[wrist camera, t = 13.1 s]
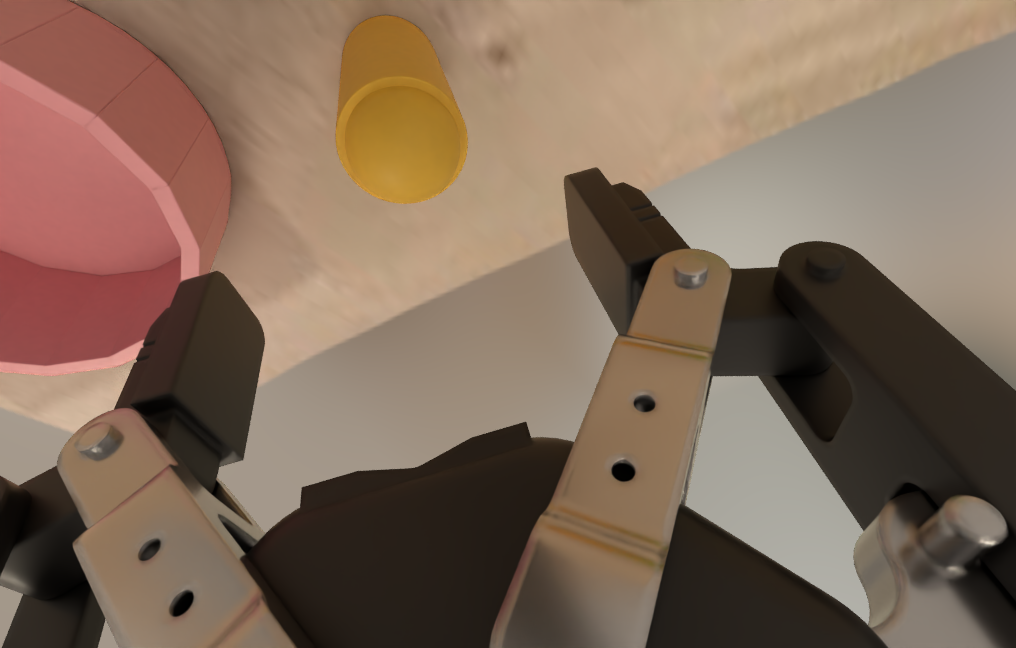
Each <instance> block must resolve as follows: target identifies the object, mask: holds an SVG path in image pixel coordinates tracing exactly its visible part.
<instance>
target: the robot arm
mask: <svg viewBox="0 0 1016 648" xmlns="http://www.w3.org/2000/svg"><path fill="white" fill-rule="evenodd" d="M564 189H565V199H566V209H567V218H568V228H569V235H570V240H571V244H572V248H573V251H574V253H575V256H576V258H577V260H578V262H579V263H580V265H581V267H582V269H583V271H584V272H585V274H586V276H587V278H588V280H589V281H590V283H591V285H592V287H593V289H594V290H595V292H596V294H597V296H598V298H599V300H600V301H601V303H602V305H603V307H604V309H605V310H606V312H607V314H608V316H609V317H610V320H611V321H612V323H613V325H614V327H615V329H616V330H617V332H618V334H619V335H618V336H617V337H616V339H615V341H614V343H613V346H612V348H611V351H610V353H609V356H608V358H607V361H606V363H605V366H604V369H603V371H602V374H601V376H600V379H599V382H598V384H597V386H596V389H595V392H594V394H593V396H592V399H591V401H590V404H589V406H588V409H587V411H586V414H585V417H584V419H583V422H582V424H581V427H580V429H579V432H578V435H577V437H576V439H575V442H572V441H568V440H563V439H557V438H544V437H536V438H531V436H530V433H529V430H528V427H527V423H526V422H523V423H520V424H517V425H513V426H510V427H506V428H503V429H499V430H496V431H493V432H489V433H486V434H482V435H479V436H476V437H472V438H470V439H468V440H466V441H465V442H463V443H461V444H459V445H457V446H456V447H454V448H452V449H450V450H449V451H446V452H445V453H443V454H441V455H439V456H437V457H436V458H434V459H432V460H430V461H428V462H426V463H425V464H423V465H421V466H419V467H415V468H408V469H389V470H371V471H356V472H353V473H350V474H346V475H343V476H339V477H336V478H333V479H330V480H326V481H322V482H319V483H316V484H312V485H309V486H305V487H302V492H301V504H300V508H298V509H297V510H295V511H293V512H292V513H291V514H289V515H288V516H286V517H285V518H283V519H282V520H281V521H280V522H278V523H277V524H276V525H275V526H273V527H272V528H271V529H270V530H269V531H268V532H267V533H266V534H265V533H264V531H263V530H262V529H261V528H260V527H259V525H258V524H257V523H256V522H255V521H254V519H253V518H252V517H251V516H250V515H249V513H248V512H247V511H246V510H245V509H244V507H243V506H242V505H241V504H240V502H239V501H238V500H237V499H236V498H235V496H234V495H233V494H232V493H231V492H230V490H229V489H228V488H227V487H226V485H225V484H223V483H222V482H221V481H220V480H219V479H218V478H217V474H218V470H219V467H221V466H224V465H227V464H231V463H234V462H238V461H241V460H243V458H244V453H245V448H246V442H247V436H248V431H249V426H250V420H251V415H252V410H253V405H254V399H255V394H256V388H257V383H258V378H259V372H260V367H261V361H262V356H263V351H264V345H265V338H264V332H263V329H262V326H261V324H260V322H259V320H258V319H257V317H256V316H255V315H254V313H253V312H252V311H251V309H250V308H249V307H248V305H247V304H246V303H245V301H244V300H243V299H242V297H241V296H240V295H239V293H238V292H237V290H236V289H235V288H234V286H233V285H232V284H231V282H230V281H229V280H228V279H227V277H226V276H225V275H224V274H222V273H221V272H218V271H215V272H211V273H207V274H204V275H200V276H197V277H193V278H189V279H186V280H183V281H181V282H180V284H179V285H178V288H177V290H176V293H175V295H174V298H173V300H172V302H171V305H170V307H169V308H166V309H165V310H164V311H163V312H162V314H161V315H160V316H159V317H158V318H157V319H156V320H155V322H154V323H153V324H152V325H151V326H150V328H149V330H148V333H147V335H146V337H145V340H144V342H143V344H142V345H143V347H142V348H141V349H140V351H139V353H138V356H137V358H136V360H137V362H136V363H134V365H133V367H132V369H131V372H130V374H129V376H128V379H127V381H126V383H125V385H124V388H123V390H122V392H121V395H120V397H119V399H118V401H117V404H116V406H115V408H114V410H112V411H108V412H106V413H104V414H101V415H100V416H98V417H96V418H94V419H93V420H91V421H89V422H88V423H87V424H85V425H84V426H83V427H81V428H80V429H79V430H78V431H77V432H76V433H75V434H74V435H73V436H72V437H71V438H70V439H69V440H68V442H67V443H66V444H65V445H64V447H63V449H62V451H61V452H60V454H59V457H58V461H57V466H55V467H53V468H52V469H50V470H48V471H46V472H44V473H42V474H40V475H38V476H36V477H35V478H32V479H31V480H29V481H27V482H25V483H23V484H21V485H19V486H18V485H16V484H14V483H12V482H11V481H9V480H7V479H5V478H3V477H1V476H0V586H3V587H6V588H8V589H11V590H14V591H17V592H19V593H22V594H23V596H22V598H21V601H20V603H19V606H18V609H17V611H16V614H15V616H14V618H13V621H12V624H11V626H10V629H9V631H8V634H7V636H6V639H5V641H4V644H3V646H2V648H98V644H99V641H100V637H101V633H102V630H103V626H104V623H105V619H106V621H107V623H108V625H109V627H110V630H111V632H112V634H113V636H114V638H115V640H116V643H117V645H118V647H119V648H1016V391H1015V390H1014V389H1013V388H1012V387H1011V386H1010V385H1008V384H1007V383H1006V382H1005V381H1004V380H1003V379H1002V378H1001V377H999V376H998V375H997V374H996V373H995V372H994V371H993V370H991V369H990V368H989V367H988V366H987V365H986V364H985V363H984V362H982V361H981V360H980V359H979V358H978V357H977V356H976V355H974V354H973V353H972V352H971V351H970V350H969V349H968V348H966V347H965V346H964V345H963V344H962V343H961V342H960V341H958V340H957V339H956V338H955V337H954V336H953V335H952V334H950V333H949V332H948V331H947V330H946V329H945V328H944V327H943V326H941V325H940V324H939V323H938V322H937V321H936V320H935V319H934V318H932V317H931V316H930V315H929V314H928V313H927V312H926V311H924V310H923V309H922V308H921V307H920V306H919V305H918V304H916V303H915V302H914V301H913V300H912V299H911V298H910V297H908V296H907V295H906V294H905V293H904V292H903V291H902V290H901V289H899V288H898V287H897V286H896V285H895V284H894V283H892V282H891V281H890V280H889V279H888V278H887V277H886V276H884V274H882V273H881V272H880V271H879V270H878V269H877V268H876V267H874V266H873V265H872V264H871V263H870V262H869V261H868V260H866V259H865V258H864V257H863V256H862V255H860V254H859V253H858V252H856V251H854V250H853V249H850V248H848V247H846V246H843V245H840V244H836V243H831V242H822V241H812V242H804V243H799V244H796V245H794V246H792V247H789V248H788V249H787V250H785V251H784V253H782V255H781V257H780V260H779V264H778V267H770V268H751V269H733V268H730V267H729V265H728V264H727V262H726V261H725V260H724V259H722V258H721V257H719V256H718V255H716V254H714V253H711V252H708V251H705V250H699V249H691V248H690V247H689V246H688V245H687V244H686V242H684V240H683V239H682V238H681V237H680V236H679V234H678V233H677V232H676V231H675V230H674V228H673V227H672V226H671V225H670V224H669V223H668V222H667V220H666V219H665V218H664V217H663V216H661V215H660V212H659V211H658V210H657V209H656V207H655V206H652V203H651V202H650V200H649V199H648V198H647V197H646V196H645V195H644V193H643V192H642V191H641V190H639V189H637V188H634V187H632V186H630V185H628V184H626V183H624V182H623V183H619V184H615V185H611V184H610V183H609V182H608V180H607V179H606V178H605V176H604V175H603V174H602V173H601V171H600V170H599V169H598V168H597V167H595V168H591V169H588V170H584V171H581V172H577V173H573V174H570V175H566V176H565V178H564ZM713 376H759V378H760V379H761V381H762V382H763V384H764V385H765V387H766V388H767V390H768V391H769V393H770V394H771V396H772V397H773V399H774V400H775V402H776V403H777V404H778V406H779V407H780V409H781V410H782V412H783V413H784V415H785V416H786V418H787V419H788V421H789V422H790V423H791V425H792V426H793V428H794V429H795V431H796V432H797V434H798V435H799V437H800V438H801V440H802V441H803V443H804V444H805V445H806V447H807V448H808V450H809V451H810V453H811V454H812V456H813V457H814V459H815V460H816V462H817V463H818V465H819V466H820V468H821V469H822V470H823V472H824V473H825V475H826V476H827V477H828V479H829V481H830V482H831V484H832V485H833V487H834V488H835V490H836V491H837V492H838V494H839V495H840V497H841V498H842V500H843V501H844V503H845V504H846V506H847V507H848V509H849V510H850V512H851V513H852V514H853V516H854V517H855V519H856V520H857V522H858V523H859V525H860V526H861V528H862V529H863V531H864V532H863V533H862V535H861V536H860V537H859V539H858V540H857V542H856V544H855V548H854V556H853V558H854V565H855V568H856V572H857V574H858V577H859V579H860V581H861V583H862V585H863V587H864V589H865V592H866V595H867V598H868V601H869V609H870V616H869V623H868V625H867V624H866V623H865V622H864V621H863V620H862V619H861V618H860V617H859V616H857V615H856V614H855V613H854V612H853V611H851V610H850V609H849V608H848V607H846V606H845V605H844V604H842V603H841V602H839V601H838V600H836V599H835V598H833V597H832V596H830V595H829V594H827V593H825V592H824V591H822V590H821V589H819V588H817V587H816V586H814V585H812V584H811V583H809V582H808V581H806V580H804V579H803V578H801V577H800V576H798V575H796V574H795V573H793V572H792V571H790V570H788V569H787V568H785V567H783V566H782V565H780V564H779V563H777V562H775V561H774V560H772V559H770V558H769V557H767V556H766V555H764V554H762V553H761V552H759V551H758V550H756V549H754V548H753V547H751V546H750V545H748V544H746V543H745V542H743V541H742V540H740V539H738V538H737V537H735V536H733V535H732V534H730V533H729V532H727V531H725V530H724V529H722V528H721V527H719V526H717V525H716V524H714V523H713V522H711V521H709V520H708V519H706V518H704V517H703V516H701V515H699V514H698V513H696V512H695V511H693V510H691V509H690V508H688V507H687V506H685V504H686V499H687V494H688V490H689V485H690V480H691V475H692V471H693V466H694V461H695V456H696V451H697V446H698V442H699V437H700V432H701V428H702V423H703V419H704V414H705V410H706V405H707V401H708V396H709V392H710V387H711V382H712V378H713Z"/></svg>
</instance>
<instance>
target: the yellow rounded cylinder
mask: <svg viewBox="0 0 1016 648" xmlns="http://www.w3.org/2000/svg"><path fill="white" fill-rule="evenodd" d="M336 146H337V152H338V155H339V158H340V160H341V163H342V165H343V167H344V169H345V170H346V172H347V173H348V175H349V176H350V177H351V178H352V180H353V181H354V182H355V183H356V184H357V185H358V186H359V187H361V188H362V189H363V190H365V191H366V192H368V193H369V194H371V195H373V196H375V197H377V198H379V199H382V200H385V201H388V202H393V203H403V204H407V203H417V202H421V201H425V200H428V199H430V198H433V197H435V196H437V195H438V194H440V193H441V192H443V191H444V190H445V189H447V188H448V187H449V186H450V185H451V184H452V183H453V182H454V180H455V179H456V178H457V176H458V175H459V173H460V171H461V169H462V167H463V165H464V162H465V159H466V155H467V148H468V138H467V130H466V126H465V123H464V120H463V118H462V115H461V113H460V110H459V108H458V106H457V103H456V101H455V99H454V96H453V94H452V91H451V89H450V87H449V84H448V82H447V80H446V77H445V75H444V72H443V70H442V68H441V65H440V63H439V61H438V58H437V56H436V53H435V51H434V49H433V46H432V45H431V43H430V41H429V40H428V38H427V37H426V35H425V34H424V33H423V32H422V31H421V30H420V29H419V28H418V27H416V26H415V25H414V24H412V23H411V22H409V21H407V20H405V19H402V18H399V17H395V16H386V15H383V16H376V17H372V18H370V19H367V20H365V21H363V22H362V23H360V24H359V25H358V26H357V27H356V28H355V29H354V30H353V31H352V32H351V34H350V35H349V37H348V39H347V41H346V43H345V46H344V49H343V55H342V65H341V76H340V88H339V100H338V111H337V123H336Z"/></svg>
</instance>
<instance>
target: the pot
mask: <svg viewBox="0 0 1016 648" xmlns="http://www.w3.org/2000/svg"><path fill="white" fill-rule="evenodd" d="M230 199H231V174H230V171H229V165H228V160H227V157H226V154H225V151H224V148H223V145H222V142H221V140H220V138H219V136H218V134H217V131H216V129H215V127H214V125H213V123H212V122H211V120H210V119H209V117H208V115H207V114H206V112H205V110H204V109H203V107H202V106H201V104H200V103H199V102H198V100H197V99H196V98H195V96H194V95H193V94H192V93H191V91H190V90H189V89H188V87H187V86H186V85H185V84H184V83H183V82H182V81H181V80H180V79H179V78H178V77H177V75H176V74H175V73H174V72H173V71H172V70H171V69H170V68H169V67H168V66H167V65H166V64H165V63H163V62H162V61H161V60H160V59H159V58H158V57H157V56H155V55H154V54H153V53H152V52H151V51H150V50H149V49H148V48H146V47H145V46H143V45H142V44H141V43H139V42H138V41H137V40H135V39H134V38H133V37H131V36H130V35H128V34H127V33H126V32H124V31H123V30H121V29H120V28H118V27H116V26H115V25H113V24H111V23H110V22H108V21H106V20H105V19H103V18H102V17H100V16H98V15H96V14H94V13H92V12H90V11H88V10H86V9H84V8H82V7H80V6H78V5H76V4H74V3H72V2H70V1H68V0H0V372H8V373H20V374H32V375H44V376H56V375H63V374H70V373H77V372H84V371H91V370H98V369H105V368H111V367H118V366H121V365H123V364H125V363H127V362H129V361H131V360H133V359H135V358H137V356H138V353H139V351H140V349H141V348H142V347H143V345H142V344H143V342H144V340H145V337H146V335H147V333H148V330H149V328H150V326H151V325H152V324H153V323H154V322H155V320H156V319H157V318H158V317H159V316H160V315H161V314H162V312H163V311H164V310H165V309H166V308H169V307H170V305H171V302H172V300H173V298H174V295H175V293H176V290H177V288H178V285H179V284H180V282H181V281H183V280H186V279H189V278H193V277H197V276H200V275H204V274H207V273H209V271H210V269H211V266H212V263H213V261H214V258H215V255H216V252H217V250H218V247H219V244H220V242H221V239H222V236H223V234H224V231H225V228H226V225H227V223H228V213H229V205H230Z"/></svg>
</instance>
